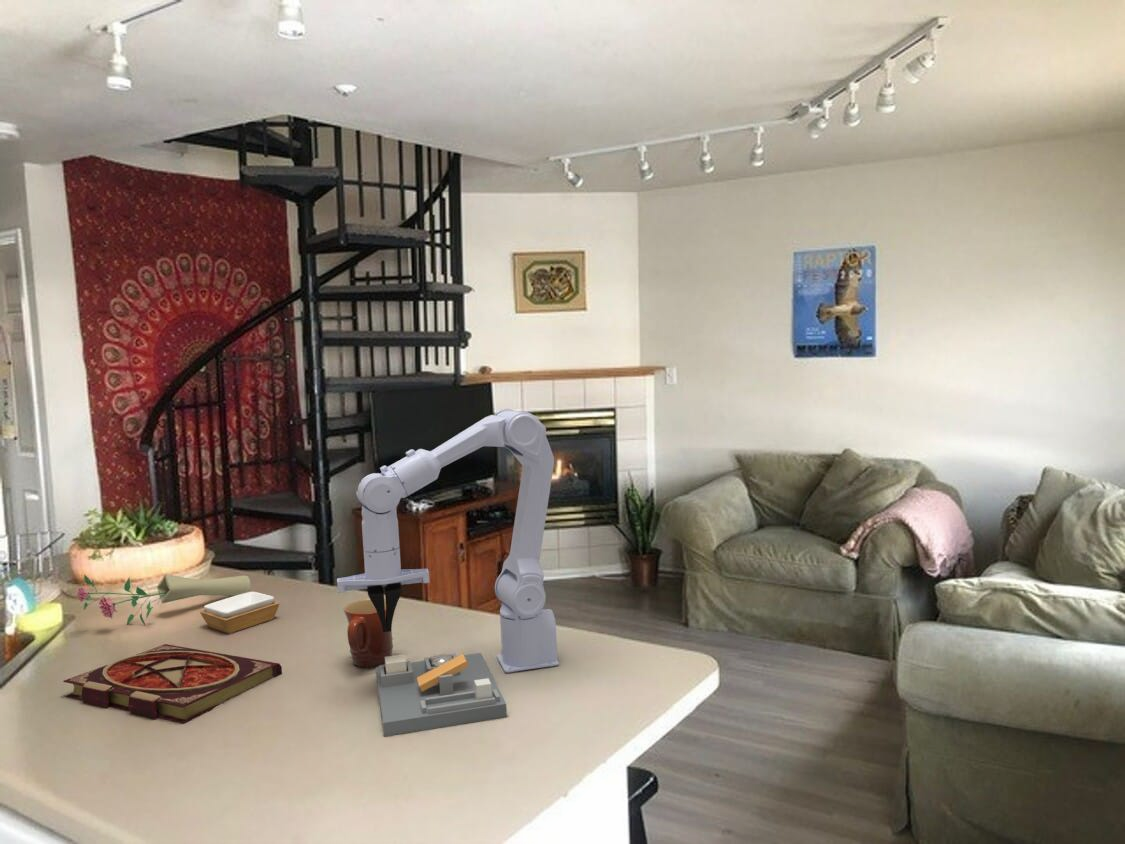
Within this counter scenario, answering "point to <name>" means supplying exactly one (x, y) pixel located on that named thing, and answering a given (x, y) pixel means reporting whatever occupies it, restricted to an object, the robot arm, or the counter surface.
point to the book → (170, 682)
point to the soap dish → (240, 611)
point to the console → (436, 697)
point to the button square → (395, 664)
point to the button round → (440, 659)
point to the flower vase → (172, 591)
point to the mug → (367, 634)
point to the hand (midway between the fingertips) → (386, 629)
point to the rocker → (442, 672)
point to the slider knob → (482, 689)
